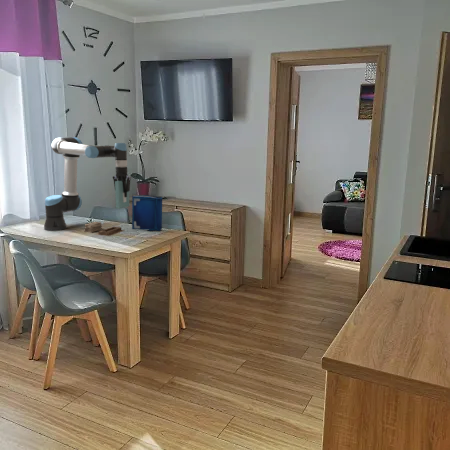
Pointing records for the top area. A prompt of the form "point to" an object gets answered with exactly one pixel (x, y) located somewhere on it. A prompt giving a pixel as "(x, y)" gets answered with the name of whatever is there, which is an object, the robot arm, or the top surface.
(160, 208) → the book
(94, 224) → the offcut stack
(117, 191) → the teal slotted panel
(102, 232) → the slot rack
